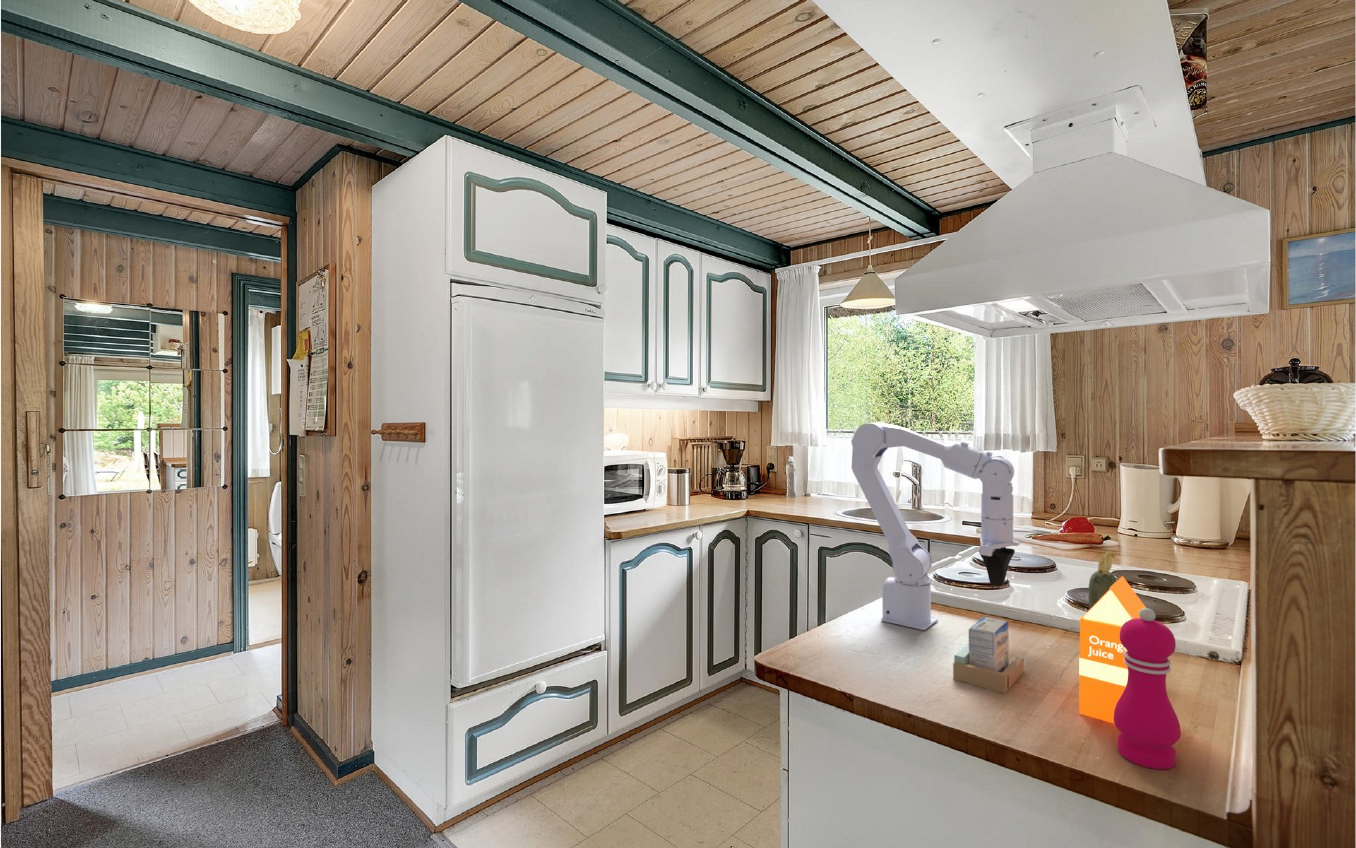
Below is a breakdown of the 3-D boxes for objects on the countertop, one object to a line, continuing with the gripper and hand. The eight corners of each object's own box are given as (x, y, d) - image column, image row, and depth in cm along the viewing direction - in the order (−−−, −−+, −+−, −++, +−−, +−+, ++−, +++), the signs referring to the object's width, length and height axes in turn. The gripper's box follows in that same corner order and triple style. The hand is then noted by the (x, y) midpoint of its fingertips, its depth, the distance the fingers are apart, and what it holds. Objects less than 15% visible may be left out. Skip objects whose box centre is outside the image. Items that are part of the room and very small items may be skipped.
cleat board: (953, 679, 109) (953, 656, 109) (990, 644, 125) (990, 623, 125) (1005, 693, 104) (1005, 669, 104) (1037, 654, 119) (1037, 633, 119)
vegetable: (1089, 660, 116) (1090, 551, 115) (1087, 652, 120) (1087, 546, 119) (1118, 664, 114) (1119, 553, 113) (1115, 656, 118) (1116, 548, 117)
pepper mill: (1192, 775, 81) (1194, 619, 80) (1128, 769, 82) (1130, 616, 82) (1161, 744, 88) (1163, 601, 87) (1103, 740, 89) (1104, 598, 89)
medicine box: (996, 684, 107) (995, 633, 107) (968, 677, 110) (968, 627, 110) (1009, 669, 113) (1009, 620, 113) (982, 662, 116) (982, 615, 116)
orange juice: (1078, 713, 97) (1078, 583, 96) (1093, 694, 103) (1093, 571, 103) (1140, 731, 91) (1142, 593, 91) (1152, 710, 98) (1154, 580, 97)
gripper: (1007, 525, 120) (1007, 597, 120) (1029, 514, 131) (1028, 580, 131) (968, 521, 125) (968, 590, 125) (992, 511, 135) (992, 574, 136)
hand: (996, 584), depth 129 cm, fingers closed
